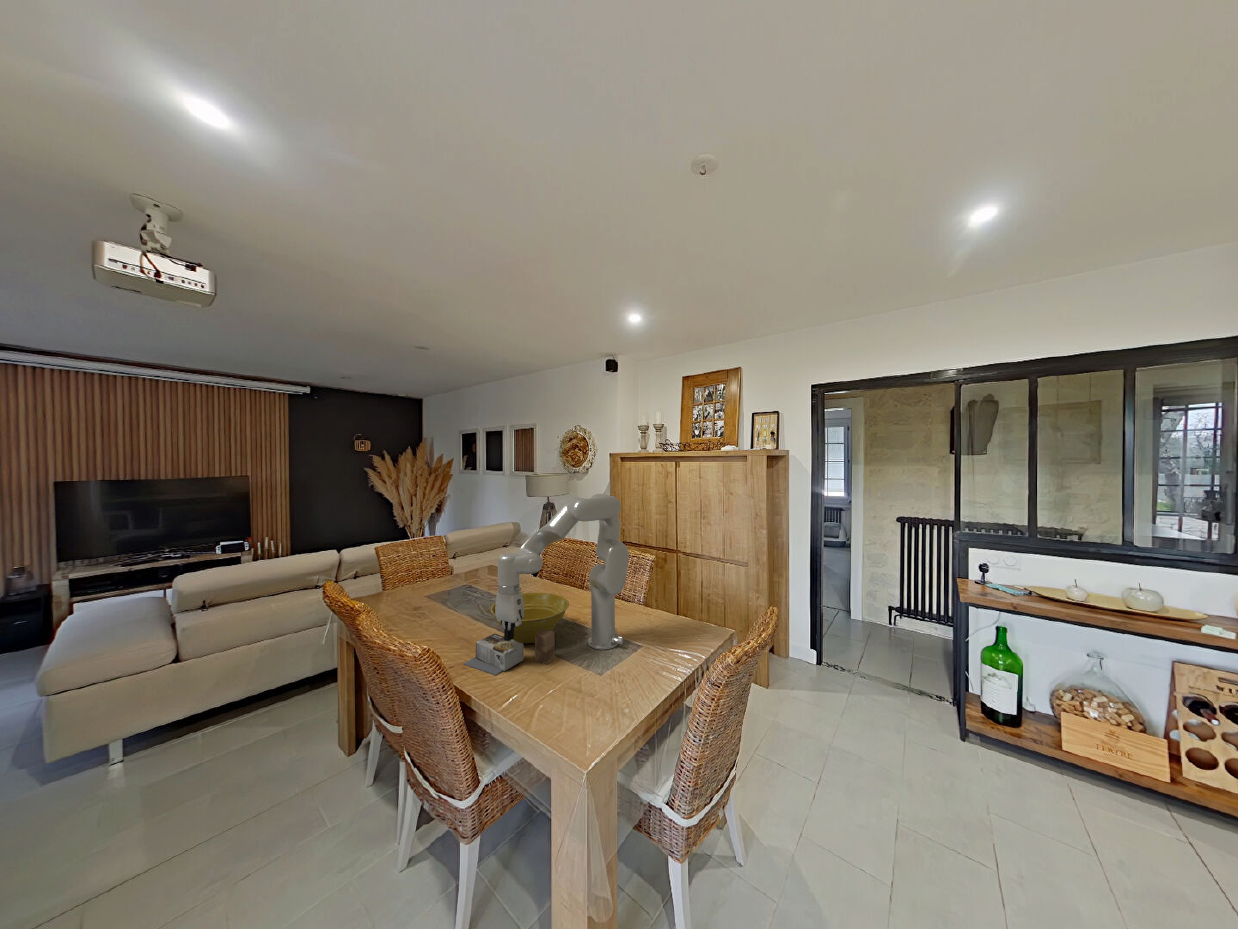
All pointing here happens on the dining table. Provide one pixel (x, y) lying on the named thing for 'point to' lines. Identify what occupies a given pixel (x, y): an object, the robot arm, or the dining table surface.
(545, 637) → the walnut block
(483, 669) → the mat
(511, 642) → the coffee box
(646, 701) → the dining table surface
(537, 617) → the planter bowl
